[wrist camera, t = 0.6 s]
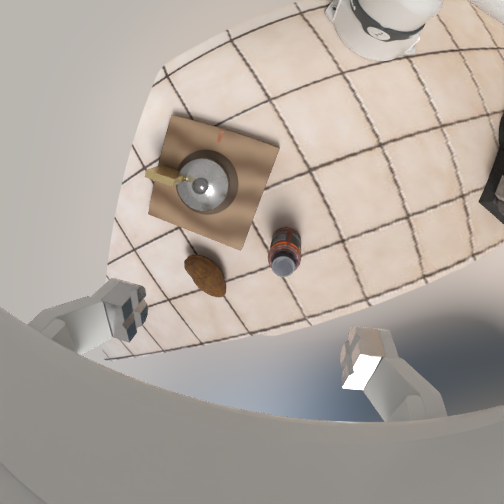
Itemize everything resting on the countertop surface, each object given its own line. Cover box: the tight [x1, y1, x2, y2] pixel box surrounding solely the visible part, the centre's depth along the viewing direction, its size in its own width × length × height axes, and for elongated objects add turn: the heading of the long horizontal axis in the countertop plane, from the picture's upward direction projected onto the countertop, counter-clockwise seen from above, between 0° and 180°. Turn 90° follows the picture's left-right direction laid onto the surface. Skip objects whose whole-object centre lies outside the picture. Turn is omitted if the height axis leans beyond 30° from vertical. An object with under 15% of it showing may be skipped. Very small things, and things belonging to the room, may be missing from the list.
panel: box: [148, 115, 280, 251], centre depth 52 cm, size 22×22×2 cm
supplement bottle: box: [268, 228, 301, 277], centre depth 51 cm, size 6×6×11 cm
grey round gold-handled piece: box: [145, 158, 230, 211], centre depth 48 cm, size 15×10×6 cm, turn 70°
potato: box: [184, 255, 226, 297], centre depth 59 cm, size 7×12×7 cm, turn 49°
